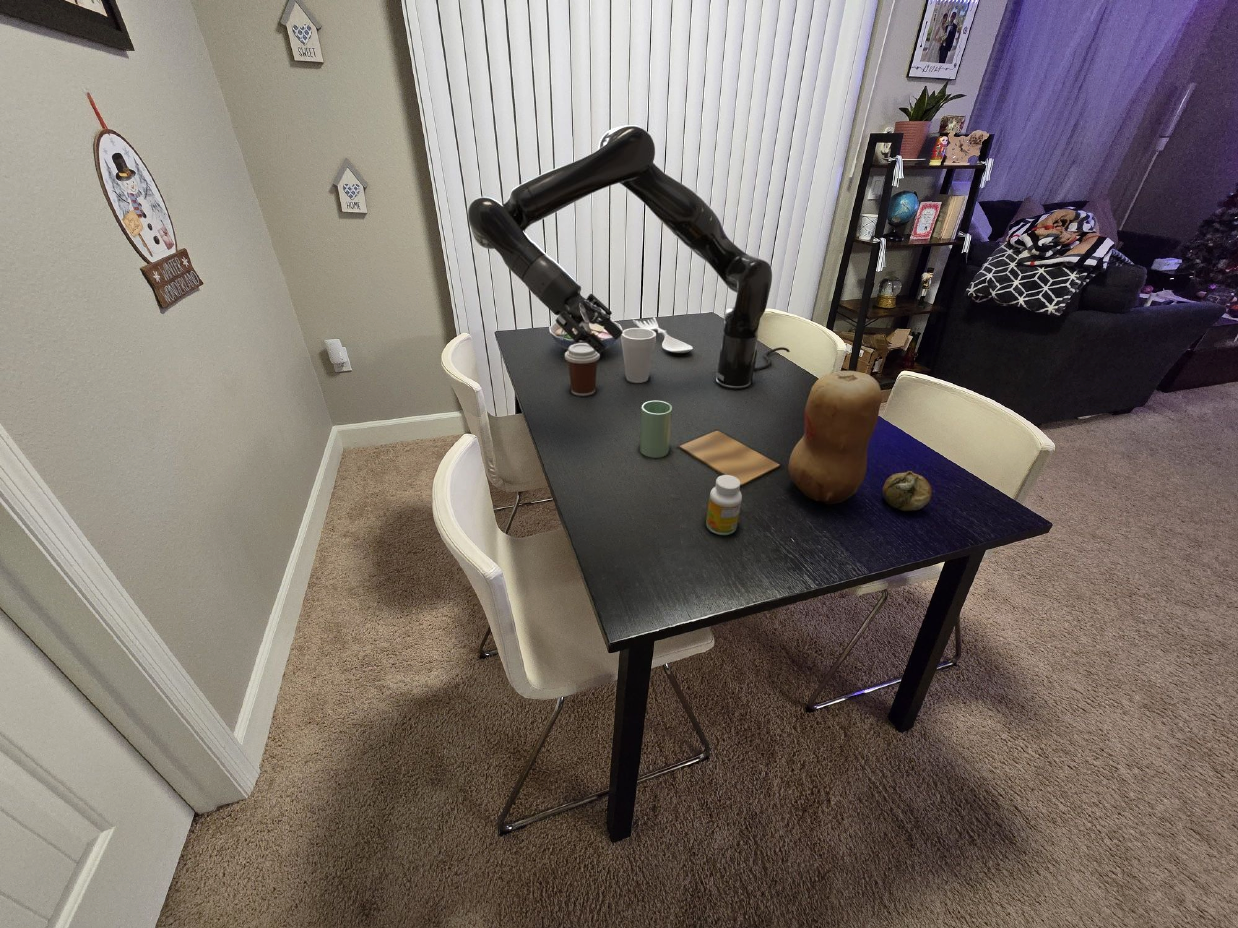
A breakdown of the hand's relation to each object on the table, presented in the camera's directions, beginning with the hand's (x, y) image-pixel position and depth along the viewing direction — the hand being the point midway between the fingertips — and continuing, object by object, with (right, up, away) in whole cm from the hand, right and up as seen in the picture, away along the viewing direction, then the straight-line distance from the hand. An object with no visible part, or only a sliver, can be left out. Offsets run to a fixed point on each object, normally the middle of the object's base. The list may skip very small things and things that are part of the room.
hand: (611, 343), depth 100 cm
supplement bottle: (+20, -35, -11) cm, 42 cm away
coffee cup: (-8, -5, +35) cm, 36 cm away
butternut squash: (+40, -31, -3) cm, 50 cm away
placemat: (+25, -23, +8) cm, 35 cm away
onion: (+55, -32, -5) cm, 64 cm away
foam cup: (+7, 0, +42) cm, 43 cm away
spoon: (+16, +17, +68) cm, 72 cm away
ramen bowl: (-9, +12, +60) cm, 61 cm away
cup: (+9, -21, +10) cm, 25 cm away
